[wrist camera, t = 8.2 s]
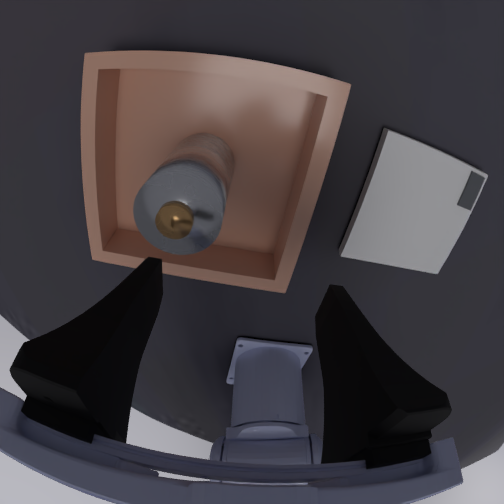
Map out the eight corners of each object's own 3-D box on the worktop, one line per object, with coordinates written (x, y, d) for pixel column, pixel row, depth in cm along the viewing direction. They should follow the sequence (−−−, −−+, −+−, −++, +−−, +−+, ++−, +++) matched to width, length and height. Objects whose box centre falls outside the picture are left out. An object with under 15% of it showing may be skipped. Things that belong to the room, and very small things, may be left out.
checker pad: (433, 268, 23) (438, 275, 23) (338, 250, 23) (341, 258, 22) (482, 171, 18) (489, 176, 17) (383, 127, 17) (389, 131, 16)
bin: (282, 262, 23) (285, 293, 21) (110, 233, 22) (92, 259, 19) (334, 80, 15) (351, 84, 12) (112, 52, 14) (85, 53, 11)
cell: (229, 195, 20) (215, 268, 13) (170, 186, 19) (131, 253, 13) (239, 138, 17) (227, 186, 11) (175, 129, 17) (128, 173, 11)
